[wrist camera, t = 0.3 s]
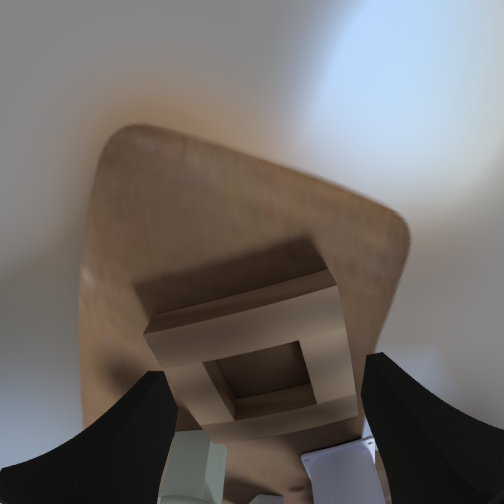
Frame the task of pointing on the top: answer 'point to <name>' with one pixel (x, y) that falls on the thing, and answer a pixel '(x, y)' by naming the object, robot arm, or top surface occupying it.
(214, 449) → the green peg
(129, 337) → the top surface
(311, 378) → the walnut holder
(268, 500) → the grey gabled block
